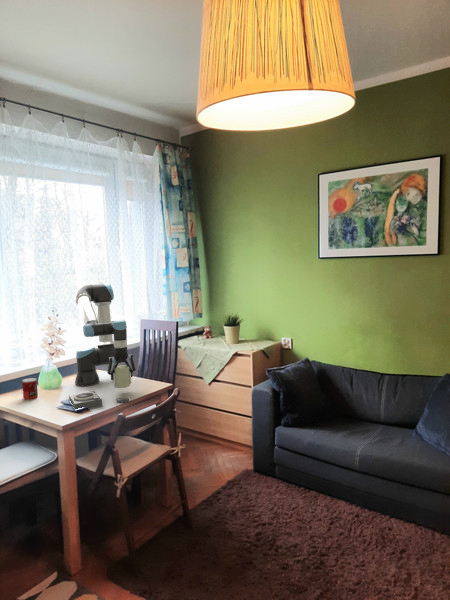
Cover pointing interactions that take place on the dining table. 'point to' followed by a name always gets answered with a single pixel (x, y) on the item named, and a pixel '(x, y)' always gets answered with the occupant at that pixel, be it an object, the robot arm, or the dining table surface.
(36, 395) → the canned food
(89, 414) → the dining table surface
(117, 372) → the can
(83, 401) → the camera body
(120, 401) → the lens cap
